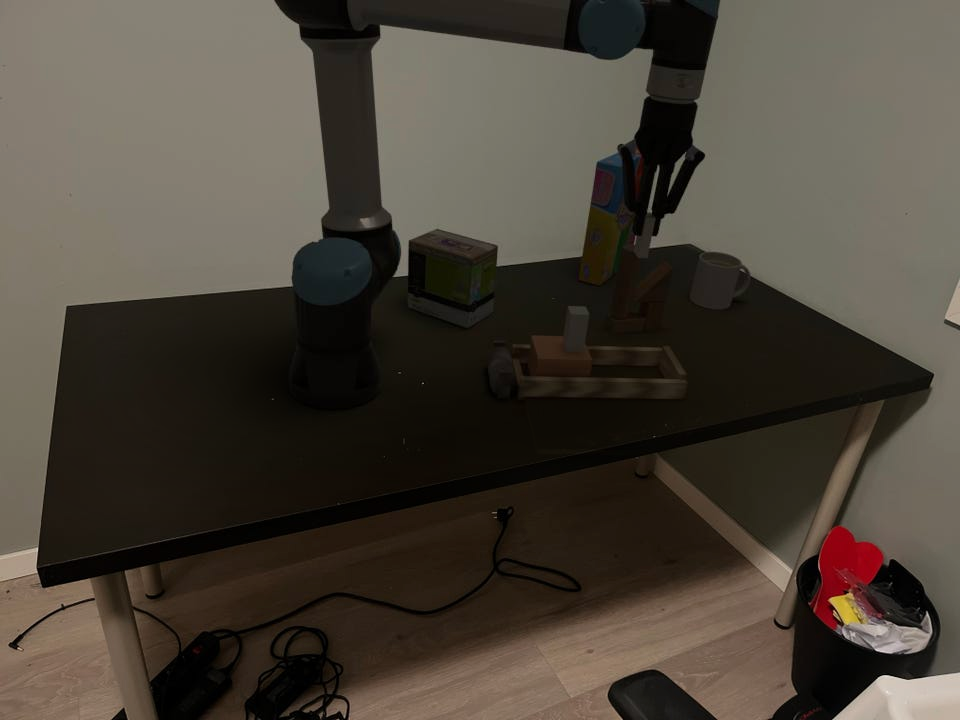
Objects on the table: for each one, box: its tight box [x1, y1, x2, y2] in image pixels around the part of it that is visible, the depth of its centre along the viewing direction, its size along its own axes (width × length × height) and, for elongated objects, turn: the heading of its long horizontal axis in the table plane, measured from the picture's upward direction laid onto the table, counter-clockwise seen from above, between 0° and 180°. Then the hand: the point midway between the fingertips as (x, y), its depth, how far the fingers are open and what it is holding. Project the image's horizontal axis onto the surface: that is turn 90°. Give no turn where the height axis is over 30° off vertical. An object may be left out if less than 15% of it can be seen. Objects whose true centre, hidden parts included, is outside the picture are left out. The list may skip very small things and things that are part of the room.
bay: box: [485, 339, 688, 402], centre depth 122 cm, size 33×12×5 cm, turn 95°
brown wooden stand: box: [603, 244, 674, 334], centre depth 138 cm, size 4×11×18 cm, turn 107°
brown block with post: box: [527, 305, 593, 378], centre depth 119 cm, size 9×9×13 cm
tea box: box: [407, 228, 499, 329], centre depth 141 cm, size 15×10×15 cm, turn 58°
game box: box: [578, 148, 643, 286], centre depth 162 cm, size 21×6×27 cm, turn 149°
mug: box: [689, 251, 751, 311], centre depth 155 cm, size 11×10×10 cm
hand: (640, 254), depth 112 cm, fingers closed
